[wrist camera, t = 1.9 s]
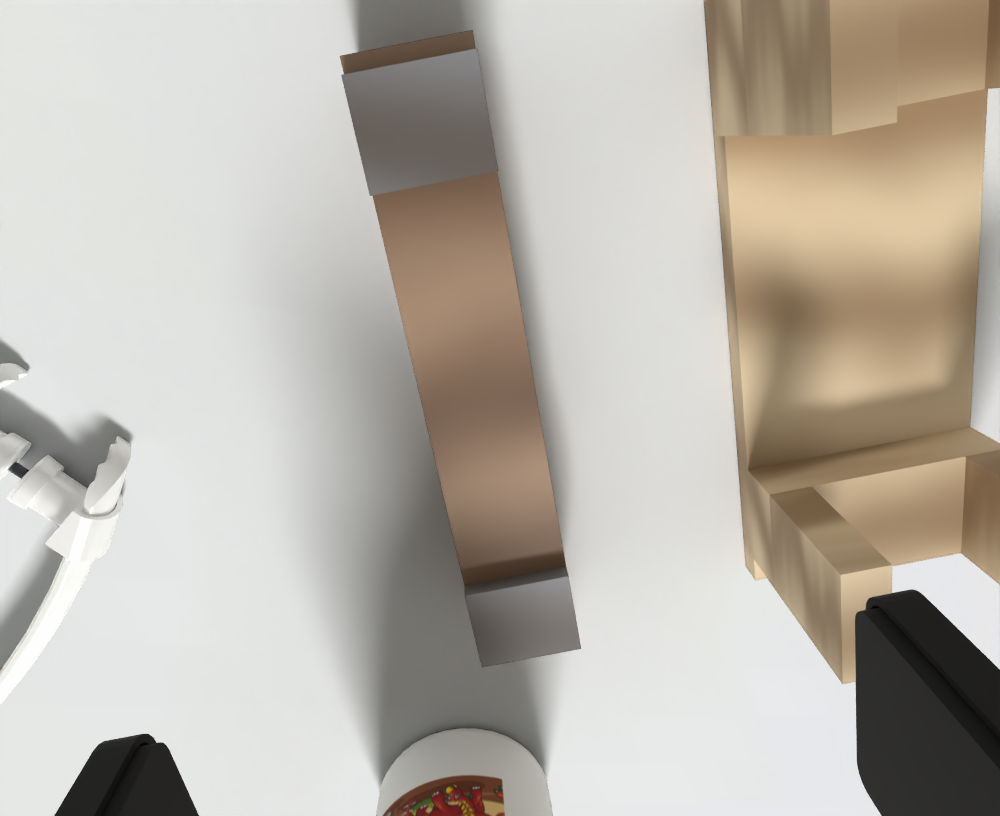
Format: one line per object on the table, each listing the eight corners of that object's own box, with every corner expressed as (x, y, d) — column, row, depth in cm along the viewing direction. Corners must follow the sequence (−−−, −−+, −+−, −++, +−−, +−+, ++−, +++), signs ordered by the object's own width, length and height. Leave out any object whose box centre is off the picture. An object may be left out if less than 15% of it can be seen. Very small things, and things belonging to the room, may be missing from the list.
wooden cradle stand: (701, -36, 22) (827, -123, 15) (974, -90, 22) (1240, -207, 15) (745, 566, 30) (843, 709, 23) (948, 527, 30) (1113, 657, 22)
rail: (360, 71, 23) (335, 53, 18) (468, 49, 23) (473, 26, 18) (479, 593, 30) (484, 678, 25) (562, 577, 30) (583, 659, 25)
